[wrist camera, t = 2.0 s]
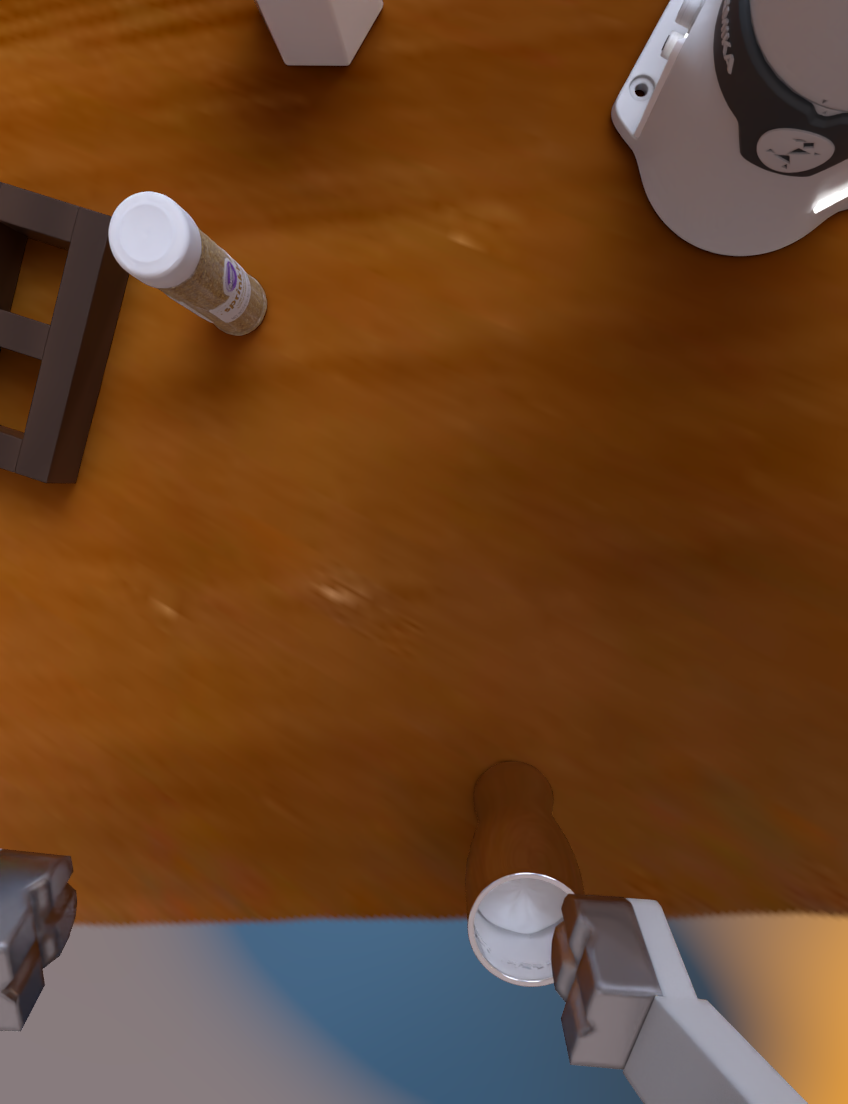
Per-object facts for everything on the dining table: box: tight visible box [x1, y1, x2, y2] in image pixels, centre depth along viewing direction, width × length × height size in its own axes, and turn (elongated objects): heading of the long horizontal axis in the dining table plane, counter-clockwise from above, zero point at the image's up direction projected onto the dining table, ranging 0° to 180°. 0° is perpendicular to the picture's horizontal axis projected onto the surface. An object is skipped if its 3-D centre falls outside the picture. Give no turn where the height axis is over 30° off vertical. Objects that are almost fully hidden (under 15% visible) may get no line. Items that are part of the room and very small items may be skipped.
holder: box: [0, 182, 129, 483], centre depth 47 cm, size 11×19×4 cm, turn 162°
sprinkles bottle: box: [108, 191, 267, 336], centre depth 41 cm, size 5×5×13 cm
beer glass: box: [465, 761, 585, 987], centre depth 42 cm, size 7×7×15 cm
